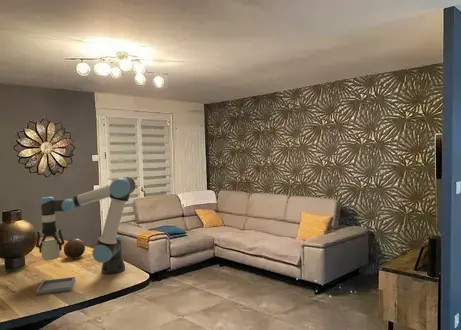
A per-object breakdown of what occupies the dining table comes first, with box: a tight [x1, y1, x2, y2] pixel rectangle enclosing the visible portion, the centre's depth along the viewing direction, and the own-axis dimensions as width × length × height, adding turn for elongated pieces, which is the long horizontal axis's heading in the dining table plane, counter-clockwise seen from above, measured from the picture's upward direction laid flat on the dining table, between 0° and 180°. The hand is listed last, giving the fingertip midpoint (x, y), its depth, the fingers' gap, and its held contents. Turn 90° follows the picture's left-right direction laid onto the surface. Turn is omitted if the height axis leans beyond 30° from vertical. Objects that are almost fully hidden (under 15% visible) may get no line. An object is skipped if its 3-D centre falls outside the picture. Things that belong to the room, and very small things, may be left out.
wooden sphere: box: [63, 238, 86, 260], centre depth 273 cm, size 15×15×15 cm
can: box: [42, 238, 60, 261], centre depth 227 cm, size 9×9×12 cm
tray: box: [35, 276, 76, 297], centre depth 212 cm, size 18×18×2 cm
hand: (51, 256), depth 227 cm, fingers closed on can, 9 cm apart
